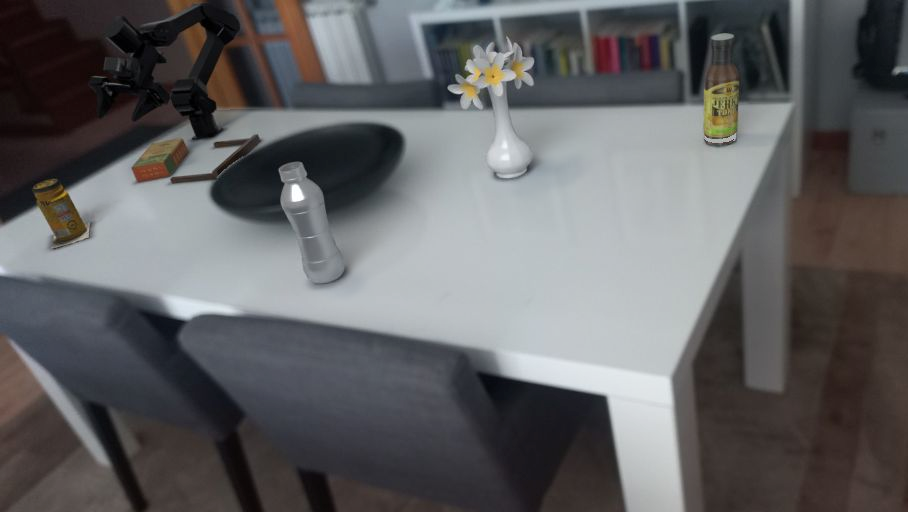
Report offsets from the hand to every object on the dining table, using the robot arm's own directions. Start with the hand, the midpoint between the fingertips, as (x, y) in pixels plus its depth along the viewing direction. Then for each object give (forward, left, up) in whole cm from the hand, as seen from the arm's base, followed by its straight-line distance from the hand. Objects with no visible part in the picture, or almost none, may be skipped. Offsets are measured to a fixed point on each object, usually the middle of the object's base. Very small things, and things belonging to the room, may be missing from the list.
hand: (116, 119), depth 173 cm
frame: (-4, +19, -15) cm, 24 cm away
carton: (-4, +4, -15) cm, 16 cm away
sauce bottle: (+13, +137, -15) cm, 138 cm away
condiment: (+31, +3, -15) cm, 34 cm away
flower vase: (+19, +97, -15) cm, 100 cm away
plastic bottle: (+54, +71, -15) cm, 90 cm away
